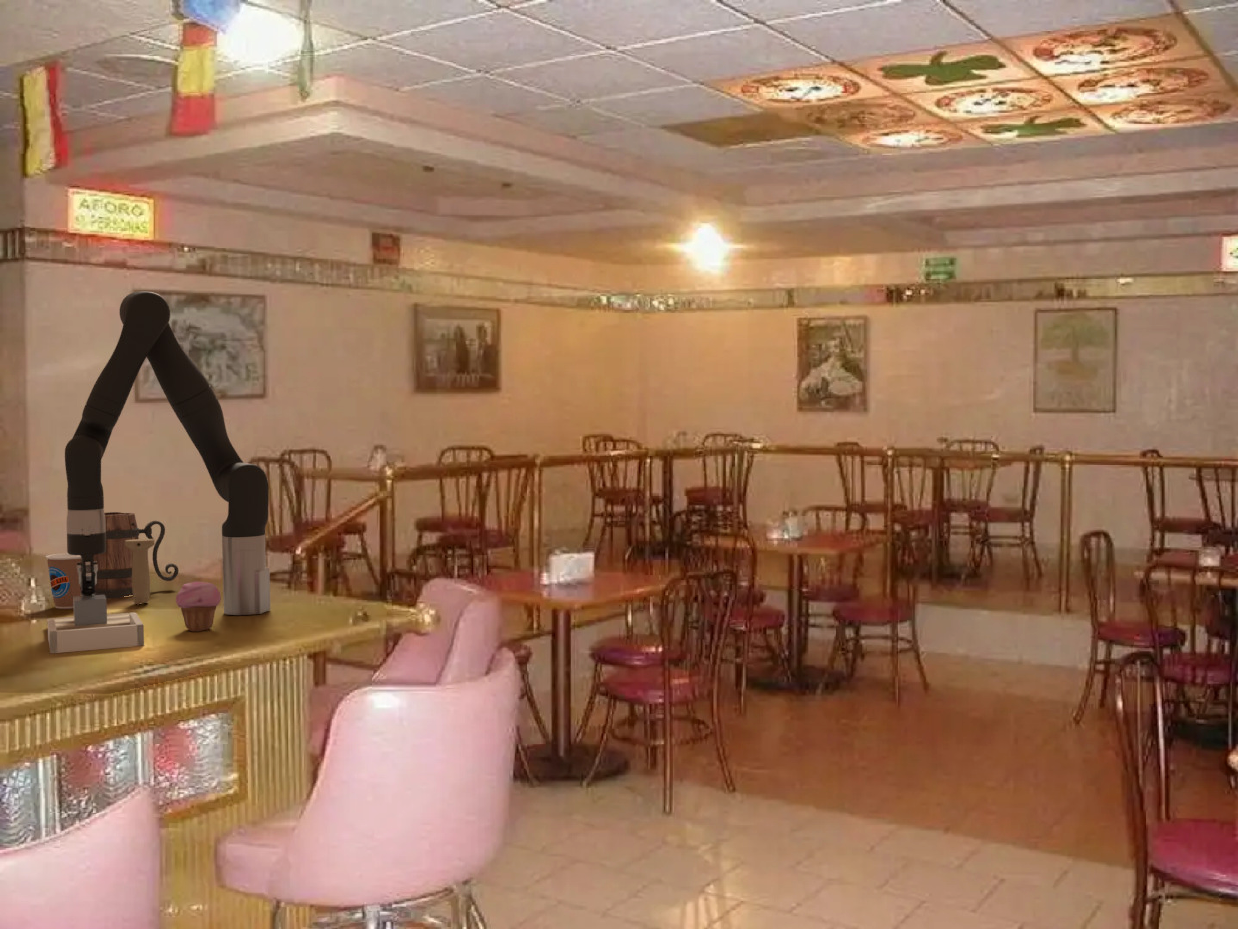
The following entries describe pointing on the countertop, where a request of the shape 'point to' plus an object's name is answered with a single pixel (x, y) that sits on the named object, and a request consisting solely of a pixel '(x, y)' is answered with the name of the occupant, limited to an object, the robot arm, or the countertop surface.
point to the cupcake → (198, 604)
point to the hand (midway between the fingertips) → (88, 613)
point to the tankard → (123, 555)
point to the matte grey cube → (90, 610)
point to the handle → (140, 568)
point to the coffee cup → (64, 579)
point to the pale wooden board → (112, 620)
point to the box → (96, 637)
